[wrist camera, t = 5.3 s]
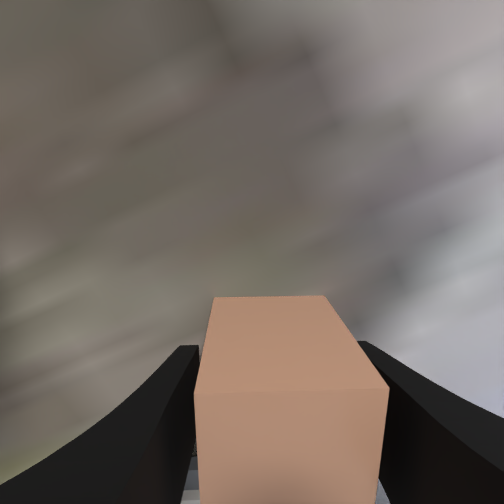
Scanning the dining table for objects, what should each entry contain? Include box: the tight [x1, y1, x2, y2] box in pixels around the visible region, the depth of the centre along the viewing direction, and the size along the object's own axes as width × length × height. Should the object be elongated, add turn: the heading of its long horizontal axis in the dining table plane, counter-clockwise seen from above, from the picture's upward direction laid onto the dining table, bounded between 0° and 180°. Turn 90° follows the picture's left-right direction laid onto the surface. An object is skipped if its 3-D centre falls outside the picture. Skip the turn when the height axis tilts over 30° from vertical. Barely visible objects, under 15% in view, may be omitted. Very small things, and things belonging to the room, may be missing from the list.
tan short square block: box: [194, 296, 390, 504], centre depth 9 cm, size 4×4×5 cm
